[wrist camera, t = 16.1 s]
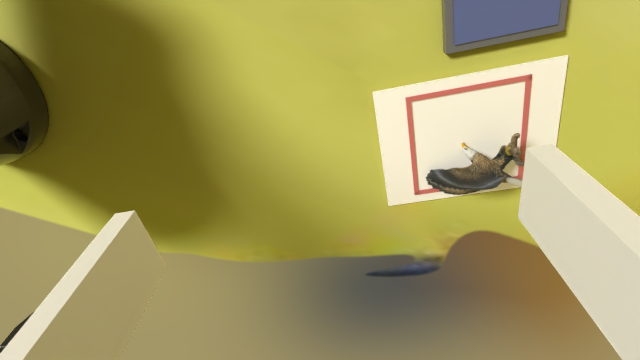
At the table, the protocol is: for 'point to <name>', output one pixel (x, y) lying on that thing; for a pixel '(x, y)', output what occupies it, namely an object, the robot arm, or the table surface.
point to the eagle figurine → (478, 171)
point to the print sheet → (465, 123)
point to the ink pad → (498, 21)
